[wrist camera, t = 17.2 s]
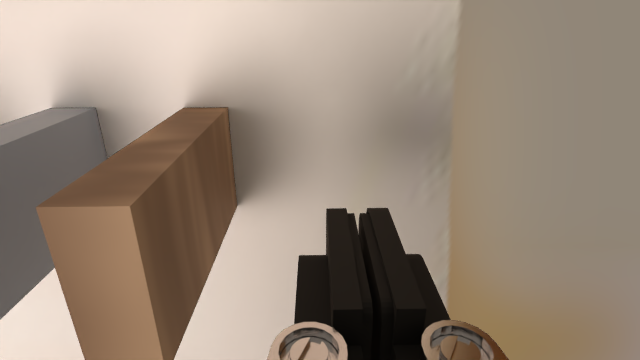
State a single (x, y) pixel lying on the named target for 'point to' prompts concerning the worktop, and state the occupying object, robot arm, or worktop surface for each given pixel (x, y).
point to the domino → (143, 236)
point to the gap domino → (38, 188)
